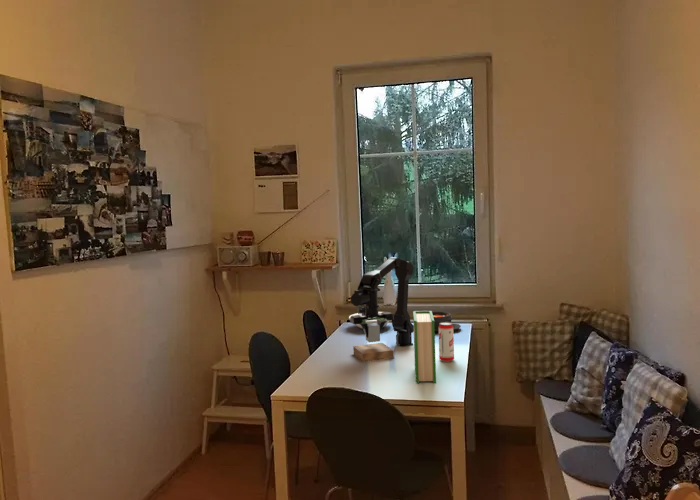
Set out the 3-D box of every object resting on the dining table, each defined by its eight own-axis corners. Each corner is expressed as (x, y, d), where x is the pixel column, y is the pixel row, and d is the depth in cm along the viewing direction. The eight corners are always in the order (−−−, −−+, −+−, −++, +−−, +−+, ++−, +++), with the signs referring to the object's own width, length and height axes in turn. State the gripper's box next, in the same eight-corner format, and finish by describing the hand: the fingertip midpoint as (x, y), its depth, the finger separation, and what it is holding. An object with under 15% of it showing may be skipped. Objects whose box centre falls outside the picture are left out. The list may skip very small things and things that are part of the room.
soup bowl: (365, 321, 322) (365, 310, 322) (402, 325, 308) (401, 313, 308) (340, 330, 303) (339, 318, 302) (378, 335, 289) (377, 322, 288)
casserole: (462, 326, 301) (461, 310, 301) (459, 334, 284) (458, 318, 283) (415, 325, 308) (415, 310, 307) (409, 333, 290) (409, 317, 290)
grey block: (376, 338, 255) (375, 323, 254) (380, 341, 250) (379, 325, 250) (365, 339, 254) (365, 324, 253) (369, 342, 249) (368, 326, 248)
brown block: (382, 351, 261) (382, 342, 261) (393, 359, 248) (393, 350, 248) (353, 354, 257) (353, 346, 257) (363, 363, 244) (363, 354, 244)
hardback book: (436, 383, 213) (434, 320, 211) (416, 383, 214) (414, 320, 211) (433, 368, 230) (431, 310, 228) (414, 369, 231) (413, 311, 229)
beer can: (455, 358, 243) (454, 322, 242) (453, 362, 237) (452, 325, 236) (440, 357, 245) (439, 321, 244) (438, 362, 239) (437, 324, 238)
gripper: (384, 297, 261) (385, 330, 262) (345, 301, 255) (347, 335, 257) (393, 301, 250) (394, 336, 252) (353, 305, 245) (354, 341, 246)
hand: (372, 337), depth 252 cm, fingers closed on grey block, 5 cm apart
